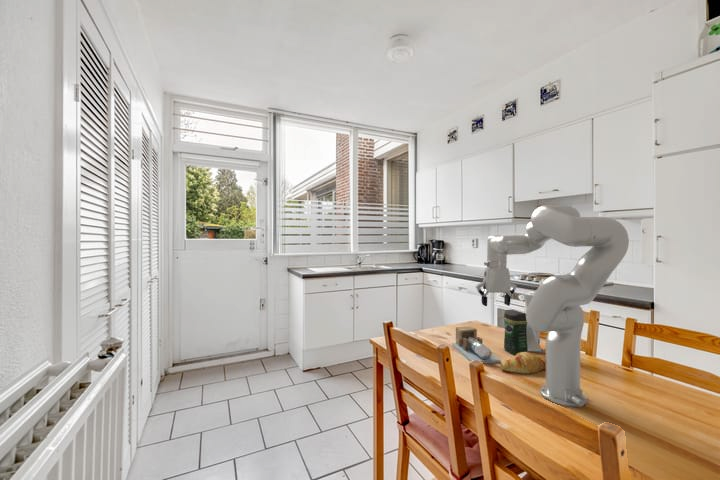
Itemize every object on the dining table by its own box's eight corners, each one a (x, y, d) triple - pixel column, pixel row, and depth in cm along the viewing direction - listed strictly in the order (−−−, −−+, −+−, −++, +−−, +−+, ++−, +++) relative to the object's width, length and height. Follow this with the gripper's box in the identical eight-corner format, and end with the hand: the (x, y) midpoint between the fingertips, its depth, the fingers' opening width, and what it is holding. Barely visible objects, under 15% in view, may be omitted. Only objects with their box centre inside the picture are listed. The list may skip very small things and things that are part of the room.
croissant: (504, 383, 122) (510, 369, 118) (490, 361, 130) (496, 348, 126) (553, 377, 125) (561, 363, 121) (537, 356, 134) (543, 343, 130)
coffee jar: (531, 354, 140) (531, 312, 140) (515, 356, 138) (515, 313, 138) (515, 347, 150) (515, 307, 149) (500, 348, 148) (500, 308, 147)
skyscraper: (546, 353, 141) (546, 290, 141) (526, 353, 142) (526, 290, 142) (538, 347, 149) (538, 287, 149) (520, 346, 151) (520, 287, 150)
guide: (482, 350, 143) (482, 339, 143) (465, 351, 143) (465, 340, 142) (479, 347, 146) (479, 337, 146) (462, 348, 146) (462, 337, 145)
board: (500, 362, 132) (500, 360, 132) (472, 364, 131) (472, 361, 131) (476, 344, 154) (476, 342, 154) (452, 345, 153) (451, 343, 153)
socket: (476, 345, 149) (476, 329, 149) (459, 346, 149) (459, 329, 148) (472, 342, 154) (472, 326, 153) (455, 343, 153) (455, 327, 153)
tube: (492, 359, 132) (492, 347, 132) (480, 360, 132) (480, 348, 132) (476, 347, 146) (476, 336, 146) (465, 348, 146) (465, 337, 146)
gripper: (480, 266, 130) (479, 307, 131) (521, 265, 131) (520, 307, 132) (472, 263, 137) (472, 303, 138) (511, 263, 138) (510, 302, 139)
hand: (495, 305), depth 135 cm, fingers open, 9 cm apart
